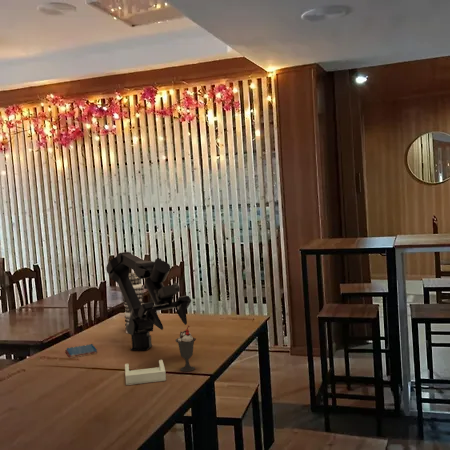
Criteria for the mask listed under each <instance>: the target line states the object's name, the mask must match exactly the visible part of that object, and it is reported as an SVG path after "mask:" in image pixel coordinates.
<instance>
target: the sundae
mask: <svg viewBox="0 0 450 450" xmlns="http://www.w3.org/2000/svg"><path fill="white" fill-rule="evenodd" d="M190 327H191V326H190V325H187V328H186V329H185V330H183V331H180V333H179V337H177V338H176V339H175V342H176V343H177V344H178V348H179V353H180V357H182V359H183V360H185V365H184V366H182V367H180V368H179V370H180V371H182V372H185V373H186V372H192V370H193V371H195V370H196V368H195V366H191V365H190V358H191V357H192V356H193V354H194V344H195V341H196V339H197V338H195V337H193V336H192V333H191V332H190V331H189V328H190Z"/></svg>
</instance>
